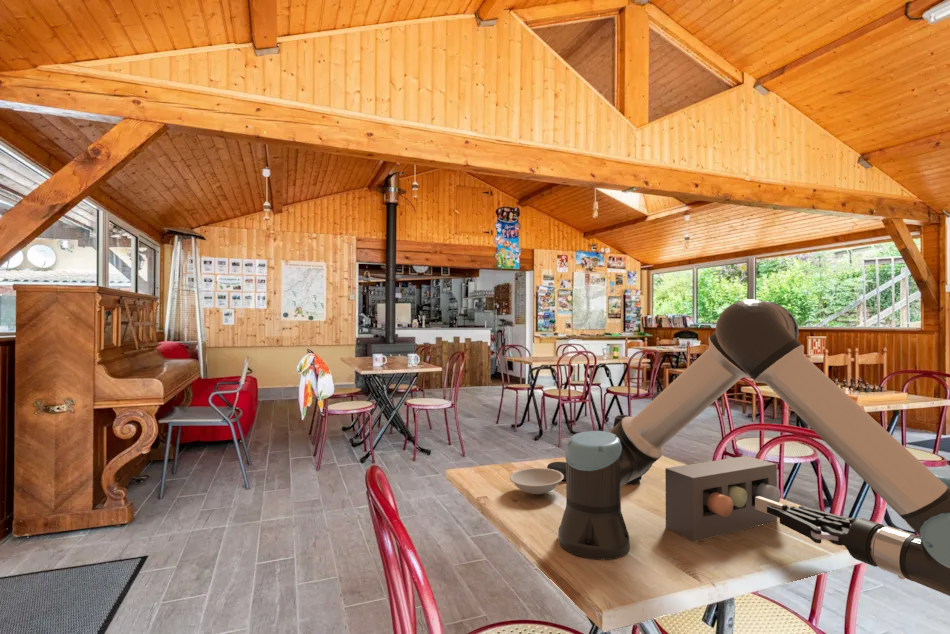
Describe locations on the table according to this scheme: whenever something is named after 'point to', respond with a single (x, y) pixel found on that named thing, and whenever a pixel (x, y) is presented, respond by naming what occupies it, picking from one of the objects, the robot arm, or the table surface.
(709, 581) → the table surface
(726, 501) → the terracotta button
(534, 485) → the dish
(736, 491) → the sage button
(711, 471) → the console
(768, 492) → the grey rounded knob
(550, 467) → the smart speaker
